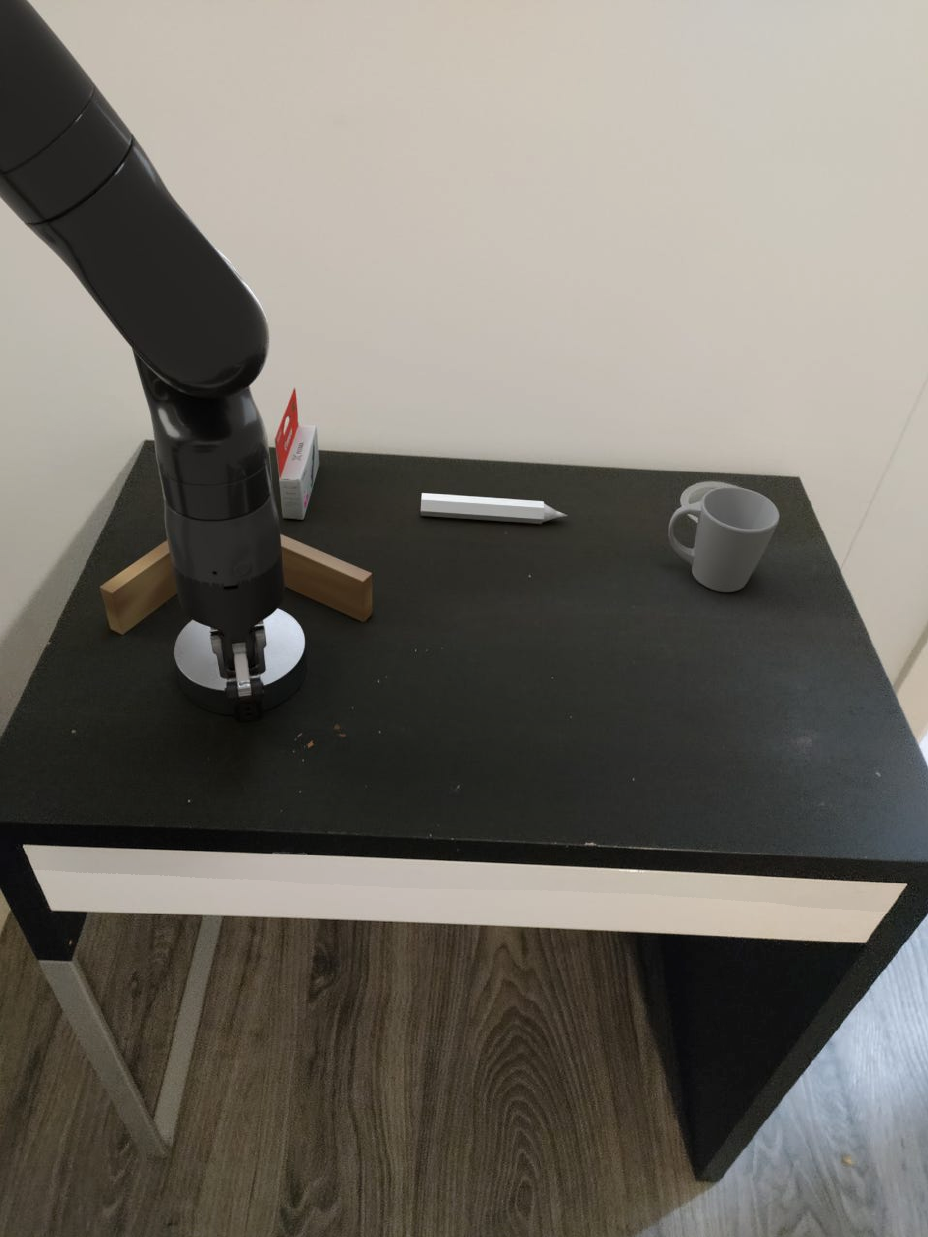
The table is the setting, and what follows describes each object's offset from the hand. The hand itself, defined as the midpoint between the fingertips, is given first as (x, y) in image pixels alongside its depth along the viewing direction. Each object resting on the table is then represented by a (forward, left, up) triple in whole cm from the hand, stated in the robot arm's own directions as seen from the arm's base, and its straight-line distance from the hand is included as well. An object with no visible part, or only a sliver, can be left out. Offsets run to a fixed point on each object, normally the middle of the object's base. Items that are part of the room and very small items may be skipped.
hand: (249, 715), depth 76 cm
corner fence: (+10, +9, -2) cm, 13 cm away
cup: (+42, -25, -2) cm, 49 cm away
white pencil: (+38, -2, -2) cm, 38 cm away
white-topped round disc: (+5, +5, -2) cm, 7 cm away
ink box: (+30, +18, -2) cm, 35 cm away
